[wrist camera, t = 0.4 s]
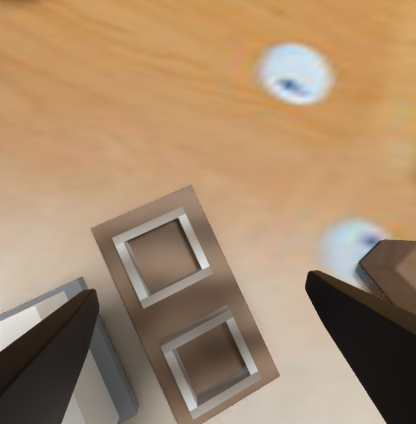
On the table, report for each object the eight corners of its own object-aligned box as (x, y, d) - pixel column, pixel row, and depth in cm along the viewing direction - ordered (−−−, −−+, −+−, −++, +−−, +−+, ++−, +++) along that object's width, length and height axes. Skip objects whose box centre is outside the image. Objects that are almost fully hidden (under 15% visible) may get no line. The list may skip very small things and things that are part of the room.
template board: (138, 404, 21) (131, 433, 18) (48, 456, 20) (24, 496, 17) (82, 276, 22) (65, 284, 19) (-10, 319, 20) (-43, 334, 17)
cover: (119, 417, 20) (103, 463, 16) (55, 453, 19) (22, 511, 15) (64, 290, 20) (35, 305, 16) (-1, 320, 19) (-48, 344, 16)
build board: (276, 369, 23) (287, 386, 20) (183, 425, 21) (182, 451, 19) (190, 186, 24) (191, 181, 21) (94, 228, 22) (83, 228, 20)
